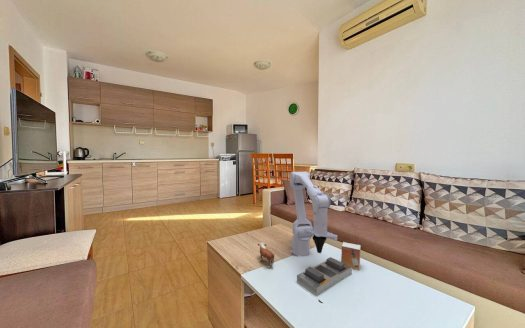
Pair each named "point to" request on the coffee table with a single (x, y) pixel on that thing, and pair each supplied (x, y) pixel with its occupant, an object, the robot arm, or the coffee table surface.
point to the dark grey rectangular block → (335, 264)
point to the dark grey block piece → (314, 275)
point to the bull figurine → (266, 254)
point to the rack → (330, 278)
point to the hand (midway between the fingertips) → (319, 252)
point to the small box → (351, 255)
